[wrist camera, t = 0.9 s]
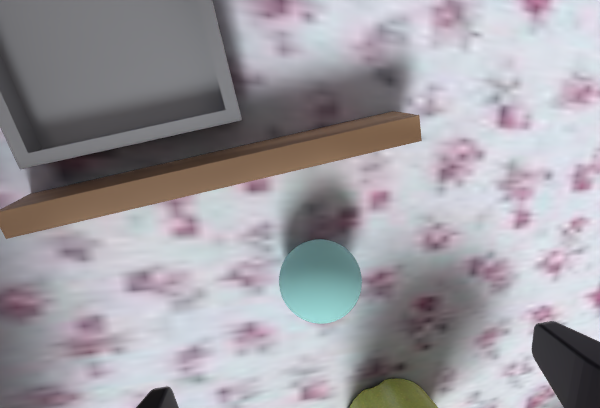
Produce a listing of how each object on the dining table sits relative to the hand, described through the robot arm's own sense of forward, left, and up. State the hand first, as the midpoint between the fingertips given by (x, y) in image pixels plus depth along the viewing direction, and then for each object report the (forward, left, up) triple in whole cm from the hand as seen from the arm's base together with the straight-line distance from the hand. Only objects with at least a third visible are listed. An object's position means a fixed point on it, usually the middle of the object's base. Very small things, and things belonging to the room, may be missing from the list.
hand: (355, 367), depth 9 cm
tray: (+10, +6, -12) cm, 17 cm away
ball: (-4, -1, -12) cm, 13 cm away
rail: (+3, +3, -12) cm, 13 cm away
